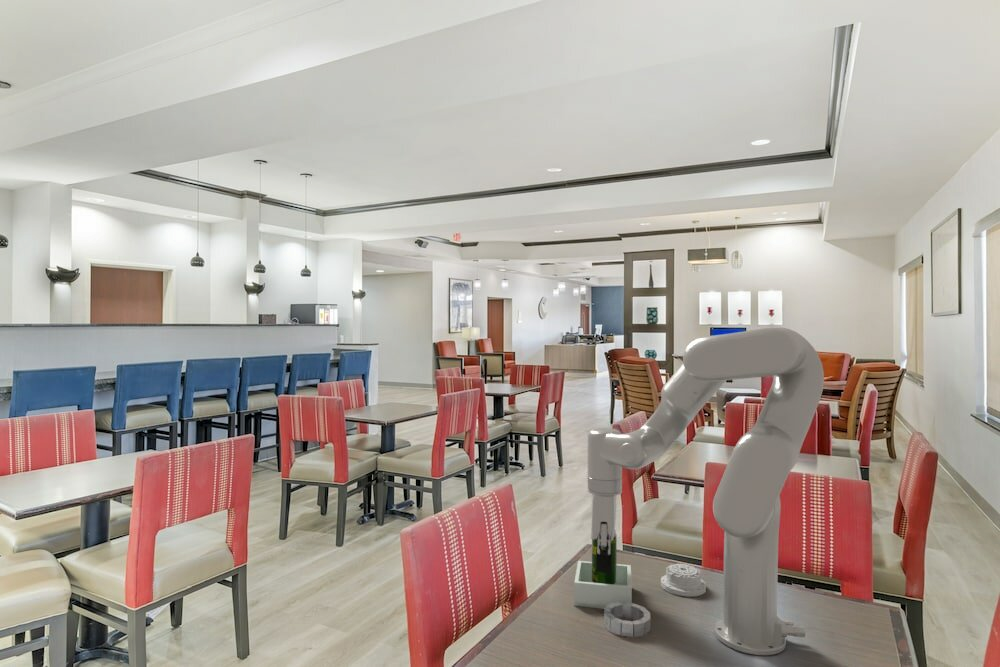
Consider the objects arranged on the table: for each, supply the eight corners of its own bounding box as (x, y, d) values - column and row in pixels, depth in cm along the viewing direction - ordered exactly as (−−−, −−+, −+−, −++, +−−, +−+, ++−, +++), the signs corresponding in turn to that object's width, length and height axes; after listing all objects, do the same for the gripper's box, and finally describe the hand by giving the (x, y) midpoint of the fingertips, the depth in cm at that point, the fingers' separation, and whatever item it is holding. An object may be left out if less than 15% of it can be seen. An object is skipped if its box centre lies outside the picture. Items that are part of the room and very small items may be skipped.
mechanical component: (662, 595, 131) (709, 600, 129) (662, 576, 131) (709, 580, 129) (659, 577, 140) (702, 581, 138) (659, 559, 140) (702, 562, 138)
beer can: (610, 577, 133) (610, 524, 133) (620, 587, 127) (620, 532, 127) (588, 579, 131) (588, 526, 131) (597, 589, 126) (597, 534, 126)
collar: (649, 616, 120) (649, 604, 120) (651, 639, 112) (651, 626, 112) (604, 612, 122) (604, 600, 122) (603, 634, 113) (603, 621, 113)
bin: (630, 586, 134) (630, 565, 134) (631, 611, 123) (631, 587, 122) (578, 581, 137) (578, 560, 137) (574, 605, 125) (574, 582, 125)
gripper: (589, 474, 138) (589, 550, 139) (585, 494, 122) (585, 581, 122) (621, 476, 137) (621, 553, 137) (622, 496, 120) (621, 584, 120)
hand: (604, 565), depth 129 cm, fingers closed on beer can, 5 cm apart
